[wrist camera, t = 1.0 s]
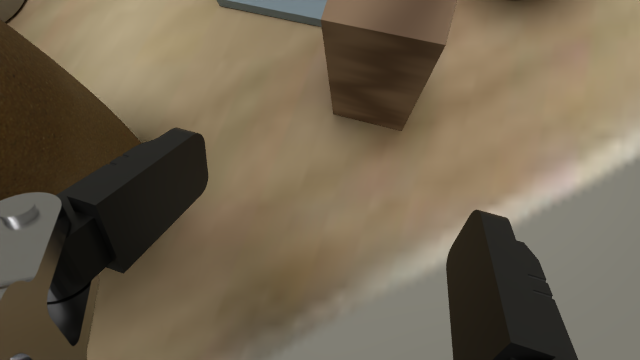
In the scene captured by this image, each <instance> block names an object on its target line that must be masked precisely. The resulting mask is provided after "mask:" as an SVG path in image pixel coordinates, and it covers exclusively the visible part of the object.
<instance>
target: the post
mask: <svg viewBox="0 0 640 360" xmlns="http://www.w3.org/2000/svg"><path fill="white" fill-rule="evenodd" d="M456 3H457V0H327V2H326V5H325V8H324V11H323V14H322V17H321V25H322V32H323V40H324V47H325V55H326V62H327V70H328V77H329V84H330V92H331V99H332V107H333V114H335V115H339V116H343V117H347V118H351V119H355V120H359V121H363V122H367V123H371V124H375V125H379V126H383V127H388V128H392V129H396V130H400V131H402V129H403V127H404V125H405V123H406V121H407V119H408V117H409V115H410V114H411V112H412V110H413V108H414V106H415V104H416V102H417V100H418V98H419V96H420V94H421V92H422V90H423V88H424V86H425V84H426V82H427V80H428V78H429V77H430V75H431V73H432V71H433V69H434V67H435V65H436V63H437V61H438V59H439V57H440V55H441V53H442V51H443V49H444V47H445V45H446V42H447V38H448V34H449V30H450V26H451V22H452V19H453V15H454V11H455V7H456Z"/></svg>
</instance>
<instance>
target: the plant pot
mask: <svg viewBox="0 0 640 360" xmlns="http://www.w3.org/2000/svg"><path fill="white" fill-rule="evenodd" d="M139 144H141V142H140V141H139V140H138V139H137V138H136V136H135V135H134V134H133V133H132V132H131V131H130V130H129V129H128V128H127V126H126V125H125V124H124V123H123V122H122V121H121V120H120V119H119V118H118V117H117V116H116V115H115V114H114V113H113V112H112V111H111V110H110V109H109V108H108V107H107V106H106V105H105V104H103V103H102V102H101V101H100V100H99V99H98V98H97V97H96V96H95V95H94V94H93V93H92V92H90V91H89V90H88V89H87V88H86V87H85V86H83V85H82V84H81V83H80V82H79V81H78V80H76V79H75V78H74V77H73V76H72V75H71V74H69V73H68V72H67V71H66V70H65V69H63V68H62V67H61V66H60V65H58V64H57V63H56V62H55V61H54V60H52V59H51V58H50V57H49V56H48V55H46V54H45V53H44V52H42V51H41V50H40V49H39V48H37V47H36V46H35V45H33V44H32V43H31V42H30V41H28V40H27V39H26V38H24V37H23V36H22V35H20V34H19V33H18V32H17V31H15V30H14V29H13V28H11V27H10V26H9V25H7V24H6V23H5V22H3V21H2V20H1V19H0V201H1V200H3V199H6V198H9V197H12V196H15V195H20V194H25V193H33V192H44V193H50V194H53V195H57V194H58V193H60V192H62V191H63V190H65V189H67V188H68V187H70V186H72V185H73V184H75V183H76V182H78V181H80V180H81V179H83V178H85V177H86V176H88V175H89V174H91V173H93V172H94V171H96V170H98V169H99V168H101V167H102V166H104V165H106V164H110V162H111V161H112V160H114V159H115V158H117V157H119V156H121V157H122V154H124V153H125V152H127V151H128V150H130V149H132V148H133V147H135V146H137V145H139Z"/></svg>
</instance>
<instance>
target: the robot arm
mask: <svg viewBox="0 0 640 360" xmlns="http://www.w3.org/2000/svg"><path fill="white" fill-rule="evenodd" d="M23 2H24V0H0V19H1V20H2V21H3V22H6V21H7V20H8V19H9V18H11V17H12V16H13V15H14V14H15V13H16V12H17V11H18V10H19V8H20V7H21V5H22V4H23ZM207 182H208V169H207V160H206V150H205V142H204V138H203V136H202V135H201V134H198V133H195V132H191V131H187V130H184V129H180V128H173V129H171V130H170V131H168V132H166V133H165V134H163V135H162V136H160V137H159V138H157V139H154V140H151V141H148V142H145V143H142V144H139V145H137V146H135V147H133V148H132V149H130V150H128V151H127V152H125V153H124V154H122V157H121V156H119V157H117V158H115V159H114V160H112V161H111V162H110V164H106V165H104V166H102V167H101V168H99V169H98V170H96V171H94V172H93V173H91V174H89V175H88V176H86V177H85V178H83V179H81V180H80V181H78V182H76V183H75V184H73V185H72V186H70V187H68V188H67V189H65V190H63V191H62V192H60V193H58V194H57V195H53V194H50V193H44V192H33V193H25V194H20V195H15V196H12V197H9V198H6V199H3V200H1V201H0V360H87V348H88V342H89V337H90V332H91V326H92V321H93V315H94V310H95V305H96V299H97V294H98V288H99V281H100V280H99V276H98V274H99V273H100V272H101V271H102V270H103V269H104V268H105V267H107V268H110V269H113V270H115V271H118V272H121V273H124V272H125V271H126V270H127V269H128V268H129V267H130V266H131V265H132V264H133V263H134V262H135V261H136V260H137V259H138V258H139V257H140V256H141V255H142V254H143V253H144V252H145V251H146V250H147V249H148V248H149V247H150V246H151V245H152V244H153V243H154V242H155V241H156V240H157V239H158V238H159V237H160V236H161V235H162V234H163V233H164V232H165V231H166V230H167V229H168V228H169V227H170V226H171V225H172V224H173V223H174V222H175V221H176V220H177V219H178V218H179V217H180V216H181V215H182V214H183V213H184V212H185V211H186V210H187V209H188V208H189V207H190V205H191V204H192V203H193V202H194V201H195V200H196V199H197V198H198V197H199V196H200V195H201V194H202V193H203V192H204V190H205V188H206V185H207ZM446 271H447V284H448V297H449V309H450V323H451V335H452V347H453V360H578V358H577V356H576V353H575V350H574V348H573V345H572V343H571V341H570V338H569V335H568V333H567V330H566V328H565V325H564V323H563V320H562V318H561V315H560V313H559V310H558V308H557V305H556V303H555V300H553V299H552V296H553V295H552V293H551V290H550V288H549V285H548V283H546V282H545V281H546V278H545V275H544V273H543V270H542V268H541V265H540V263H539V260H538V259H537V258H536V257H535V255H534V254H533V253H532V252H531V251H530V249H529V248H528V247H527V246H526V245H525V243H523V242H520V241H516V239H515V236H514V233H513V230H512V227H511V224H510V222H509V220H508V219H507V218H506V217H502V216H498V215H495V214H491V213H487V212H484V211H480V210H474V211H473V212H472V213H471V215H470V216H469V218H468V219H467V221H466V223H465V225H464V226H463V228H462V230H461V231H460V233H459V235H458V236H457V238H456V240H455V242H454V243H453V245H452V247H451V249H450V251H449V254H448V258H447V264H446Z"/></svg>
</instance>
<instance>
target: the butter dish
mask: <svg viewBox="0 0 640 360" xmlns="http://www.w3.org/2000/svg"><path fill="white" fill-rule="evenodd" d="M217 2H218V3H219V5H220V6H224V7H229V8H233V9H238V10H243V11H248V12H253V13H258V14H262V15H267V16H272V17H277V18H282V19H286V20H291V21H296V22H301V23H306V24H311V25H315V26H320V27H322V25H321V17H322V14H323V11H324V8H325V5H326V2H327V0H217Z"/></svg>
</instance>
